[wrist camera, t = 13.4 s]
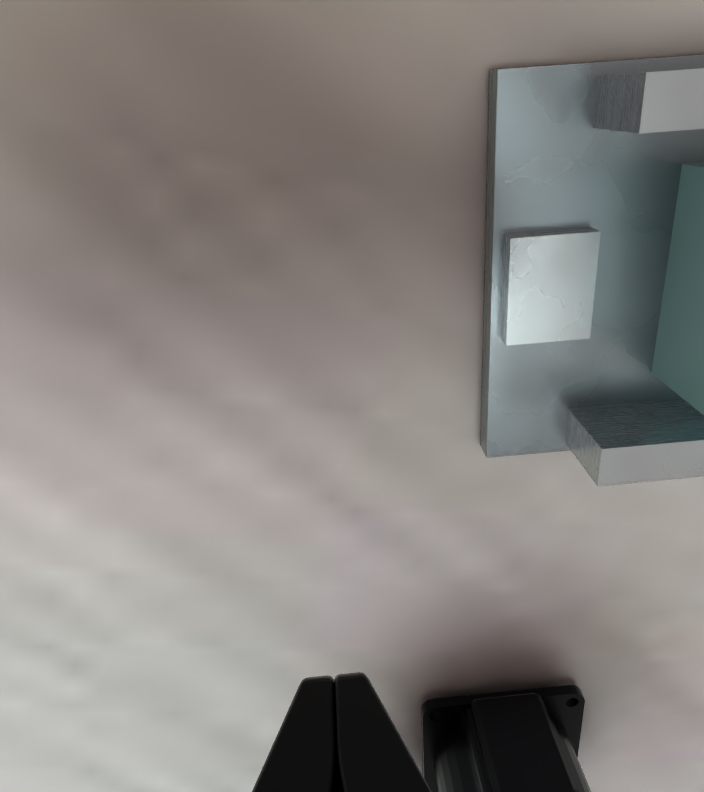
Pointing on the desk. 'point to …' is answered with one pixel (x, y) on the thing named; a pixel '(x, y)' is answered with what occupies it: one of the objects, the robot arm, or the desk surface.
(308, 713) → the robot arm
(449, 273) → the desk surface
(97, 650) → the desk surface
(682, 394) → the block
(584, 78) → the plate
